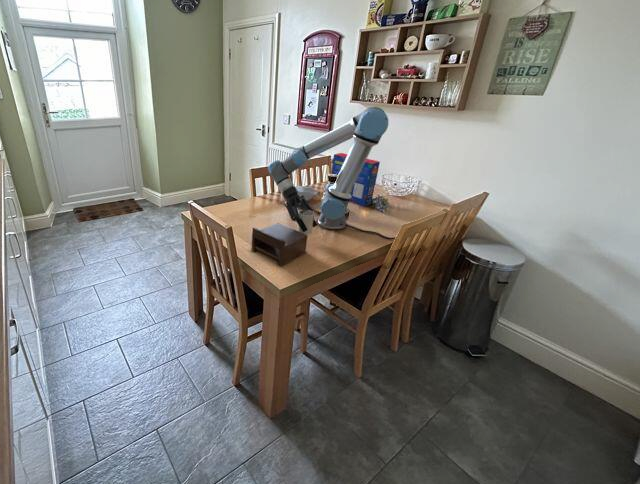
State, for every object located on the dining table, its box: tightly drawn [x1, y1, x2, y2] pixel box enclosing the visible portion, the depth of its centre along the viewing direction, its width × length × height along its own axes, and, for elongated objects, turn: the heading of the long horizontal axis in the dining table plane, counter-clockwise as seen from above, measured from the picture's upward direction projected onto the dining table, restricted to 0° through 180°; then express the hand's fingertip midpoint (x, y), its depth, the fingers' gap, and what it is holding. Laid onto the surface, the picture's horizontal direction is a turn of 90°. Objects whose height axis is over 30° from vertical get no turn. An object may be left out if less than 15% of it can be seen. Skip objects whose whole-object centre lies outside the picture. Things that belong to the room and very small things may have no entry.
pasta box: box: [330, 152, 381, 208], centre depth 213 cm, size 28×8×28 cm, turn 39°
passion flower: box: [370, 193, 390, 213], centre depth 201 cm, size 11×11×12 cm
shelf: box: [251, 222, 308, 267], centre depth 151 cm, size 18×18×12 cm
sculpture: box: [280, 185, 322, 202], centre depth 213 cm, size 25×19×10 cm
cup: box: [296, 209, 315, 235], centre depth 163 cm, size 8×8×10 cm
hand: (310, 228), depth 162 cm, fingers closed on cup, 8 cm apart
